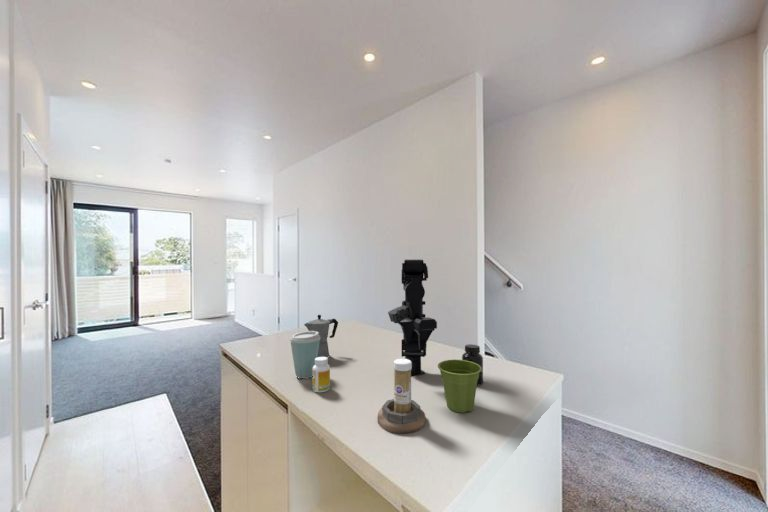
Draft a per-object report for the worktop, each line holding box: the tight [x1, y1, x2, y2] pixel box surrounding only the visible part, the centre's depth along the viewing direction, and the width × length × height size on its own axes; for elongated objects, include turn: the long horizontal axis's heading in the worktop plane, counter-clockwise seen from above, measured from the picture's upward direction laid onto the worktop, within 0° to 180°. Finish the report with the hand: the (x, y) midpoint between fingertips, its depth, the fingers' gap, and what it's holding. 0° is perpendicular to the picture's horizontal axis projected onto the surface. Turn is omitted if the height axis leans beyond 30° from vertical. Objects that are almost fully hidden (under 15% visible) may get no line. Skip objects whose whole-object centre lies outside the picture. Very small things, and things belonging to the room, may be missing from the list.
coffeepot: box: [303, 314, 339, 357], centre depth 129 cm, size 15×9×18 cm, turn 125°
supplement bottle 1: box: [311, 357, 331, 393], centre depth 96 cm, size 5×5×10 cm
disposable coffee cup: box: [289, 330, 321, 379], centre depth 107 cm, size 11×11×15 cm
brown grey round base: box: [377, 398, 426, 435], centre depth 76 cm, size 12×12×4 cm
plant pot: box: [437, 359, 482, 414], centre depth 84 cm, size 12×12×11 cm
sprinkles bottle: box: [393, 358, 412, 414], centre depth 77 cm, size 5×5×13 cm
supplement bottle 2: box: [461, 344, 484, 386], centre depth 101 cm, size 7×7×12 cm
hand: (414, 346), depth 97 cm, fingers open, 9 cm apart
